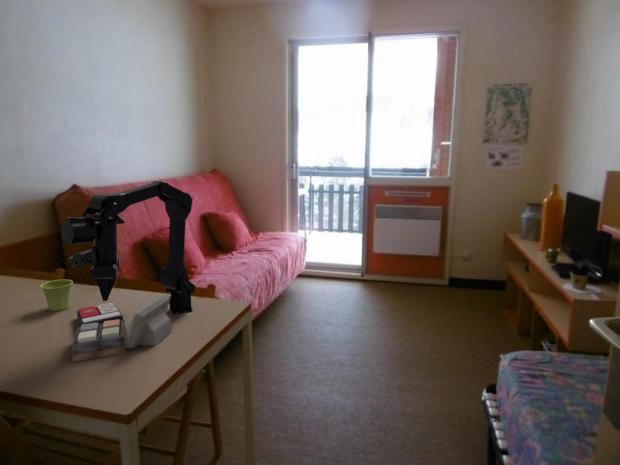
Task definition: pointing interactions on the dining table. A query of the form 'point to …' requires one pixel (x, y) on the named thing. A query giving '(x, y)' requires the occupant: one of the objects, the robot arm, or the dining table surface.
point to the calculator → (98, 314)
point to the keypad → (99, 345)
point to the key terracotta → (111, 324)
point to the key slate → (89, 327)
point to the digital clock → (150, 324)
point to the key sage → (110, 332)
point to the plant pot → (57, 294)
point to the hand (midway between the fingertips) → (106, 296)
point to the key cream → (87, 336)
